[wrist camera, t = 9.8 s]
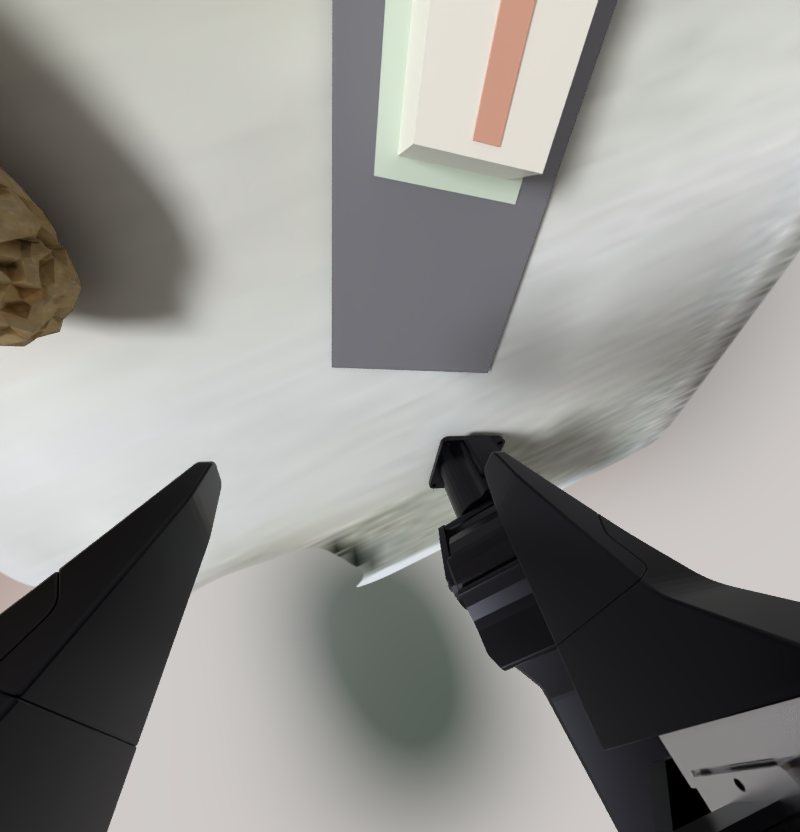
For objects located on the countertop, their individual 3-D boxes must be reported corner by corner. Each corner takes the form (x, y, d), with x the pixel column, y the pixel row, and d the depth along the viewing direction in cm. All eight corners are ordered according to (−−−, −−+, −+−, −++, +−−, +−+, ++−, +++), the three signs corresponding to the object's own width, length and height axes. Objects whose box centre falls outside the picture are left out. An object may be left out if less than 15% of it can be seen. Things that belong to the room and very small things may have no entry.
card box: (593, -147, 10) (687, -271, 7) (506, 179, 15) (543, 173, 13) (435, -239, 9) (481, -434, 6) (397, 155, 14) (414, 143, 11)
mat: (485, 370, 23) (488, 373, 22) (332, 364, 20) (332, 368, 19) (671, -177, 10) (685, -192, 10) (333, -409, 7) (333, -445, 7)
